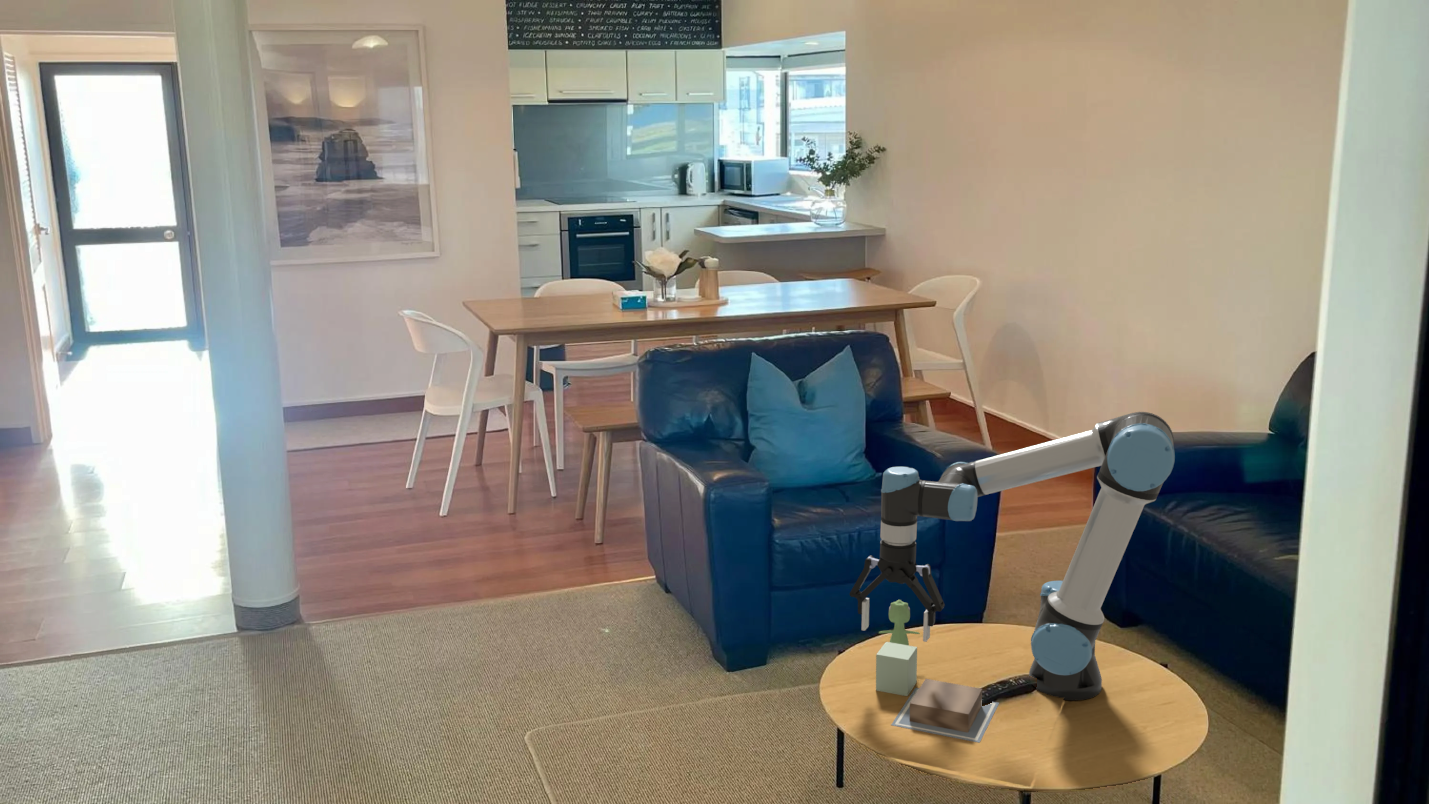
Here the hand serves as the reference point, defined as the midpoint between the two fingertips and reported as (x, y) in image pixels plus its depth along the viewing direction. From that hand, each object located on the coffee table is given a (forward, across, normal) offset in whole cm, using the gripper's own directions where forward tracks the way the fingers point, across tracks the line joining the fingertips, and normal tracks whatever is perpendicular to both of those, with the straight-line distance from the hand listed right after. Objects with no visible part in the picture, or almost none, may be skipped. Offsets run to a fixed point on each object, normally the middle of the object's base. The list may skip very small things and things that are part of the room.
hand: (895, 633), depth 253 cm
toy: (+13, +2, -12) cm, 18 cm away
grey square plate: (+13, -14, +8) cm, 20 cm away
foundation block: (+12, -14, +8) cm, 20 cm away
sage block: (+13, -1, 0) cm, 13 cm away
